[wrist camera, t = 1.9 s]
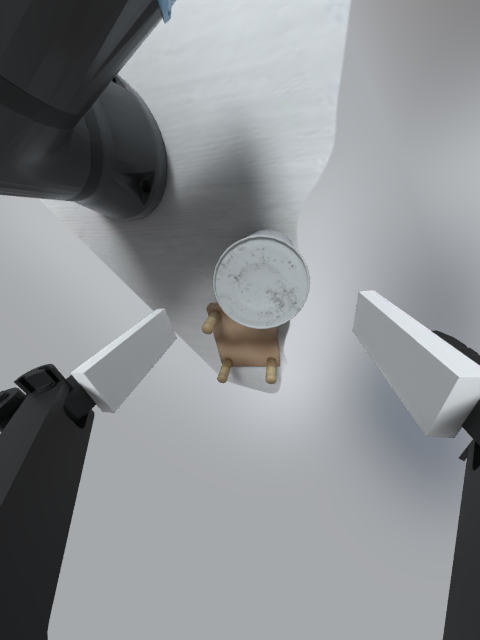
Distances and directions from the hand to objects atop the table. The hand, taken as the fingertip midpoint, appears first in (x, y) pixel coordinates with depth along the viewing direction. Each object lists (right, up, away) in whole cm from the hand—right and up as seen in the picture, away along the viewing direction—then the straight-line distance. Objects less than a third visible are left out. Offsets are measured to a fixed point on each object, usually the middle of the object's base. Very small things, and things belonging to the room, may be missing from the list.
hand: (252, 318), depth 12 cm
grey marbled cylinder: (+3, +9, +16) cm, 19 cm away
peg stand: (0, -3, +23) cm, 23 cm away
